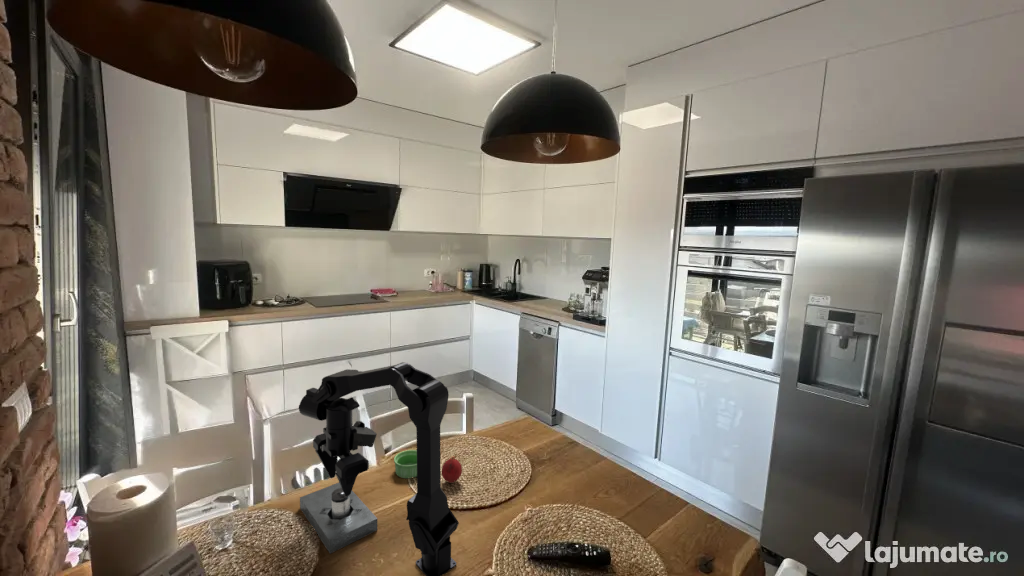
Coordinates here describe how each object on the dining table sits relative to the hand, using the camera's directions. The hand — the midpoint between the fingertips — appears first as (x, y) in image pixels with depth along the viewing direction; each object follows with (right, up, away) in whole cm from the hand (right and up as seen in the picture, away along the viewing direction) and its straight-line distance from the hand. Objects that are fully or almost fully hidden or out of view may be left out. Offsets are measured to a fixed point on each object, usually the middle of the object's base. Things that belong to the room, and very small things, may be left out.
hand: (339, 486), depth 97 cm
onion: (+24, -9, +19) cm, 32 cm away
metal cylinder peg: (0, -10, +1) cm, 10 cm away
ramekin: (+11, -8, +24) cm, 28 cm away
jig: (-2, -9, +2) cm, 10 cm away
